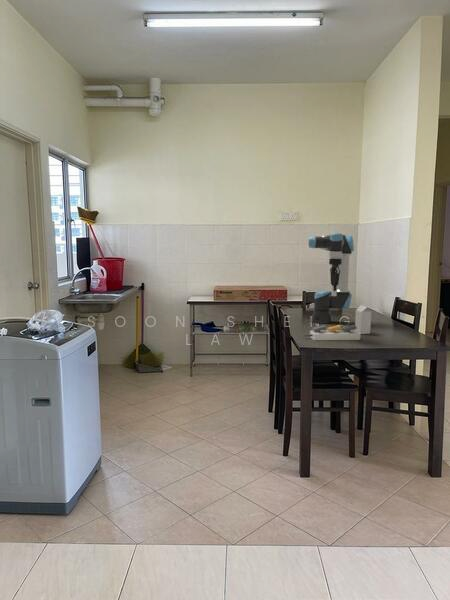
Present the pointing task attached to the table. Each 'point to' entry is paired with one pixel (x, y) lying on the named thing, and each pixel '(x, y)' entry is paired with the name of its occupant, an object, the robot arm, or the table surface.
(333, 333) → the power strip
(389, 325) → the table surface
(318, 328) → the rocker
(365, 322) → the milk carton
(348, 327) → the rocker
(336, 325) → the rocker mid
